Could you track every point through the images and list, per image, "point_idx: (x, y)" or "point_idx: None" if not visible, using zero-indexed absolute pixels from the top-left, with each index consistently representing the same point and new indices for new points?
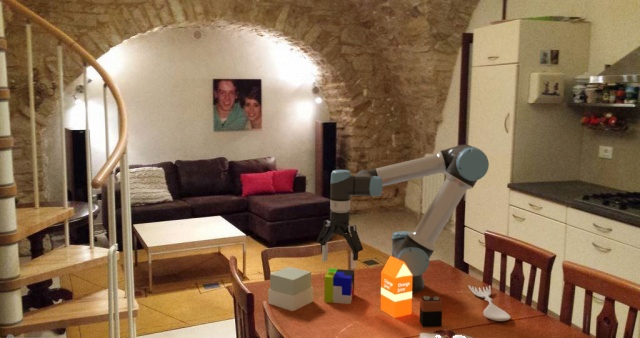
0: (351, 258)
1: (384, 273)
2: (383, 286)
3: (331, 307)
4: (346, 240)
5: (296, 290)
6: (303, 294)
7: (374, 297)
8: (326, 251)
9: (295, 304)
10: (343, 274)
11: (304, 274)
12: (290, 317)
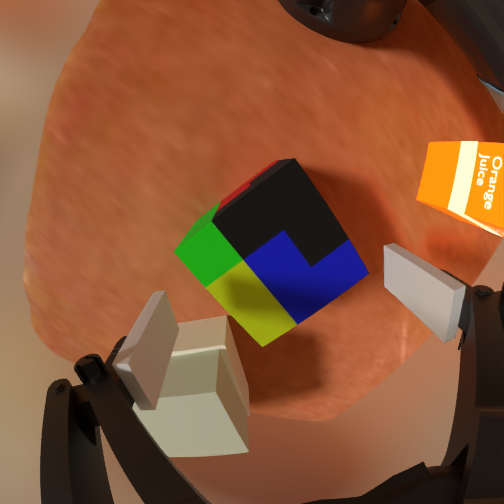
0: (423, 316)
1: None
2: (476, 220)
3: None
4: (454, 424)
5: (243, 413)
6: (238, 376)
7: (346, 129)
8: (152, 341)
9: (246, 388)
10: (304, 258)
11: (225, 417)
12: (274, 402)
